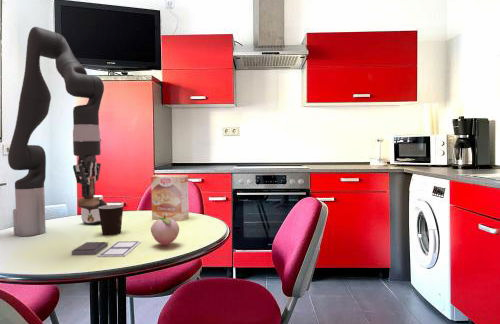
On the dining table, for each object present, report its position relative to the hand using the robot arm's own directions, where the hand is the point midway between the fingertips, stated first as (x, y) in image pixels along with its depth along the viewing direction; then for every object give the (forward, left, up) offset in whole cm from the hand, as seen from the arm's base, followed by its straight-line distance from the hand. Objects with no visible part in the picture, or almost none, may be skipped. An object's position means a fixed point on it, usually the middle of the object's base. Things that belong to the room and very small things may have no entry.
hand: (88, 195), depth 105 cm
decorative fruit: (+23, +4, -17) cm, 29 cm away
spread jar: (-14, +41, -17) cm, 47 cm away
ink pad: (0, 0, -17) cm, 17 cm away
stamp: (0, 0, -3) cm, 3 cm away
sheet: (+9, +1, -17) cm, 19 cm away
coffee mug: (-1, +23, -17) cm, 29 cm away
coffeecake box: (+15, +47, -17) cm, 52 cm away
